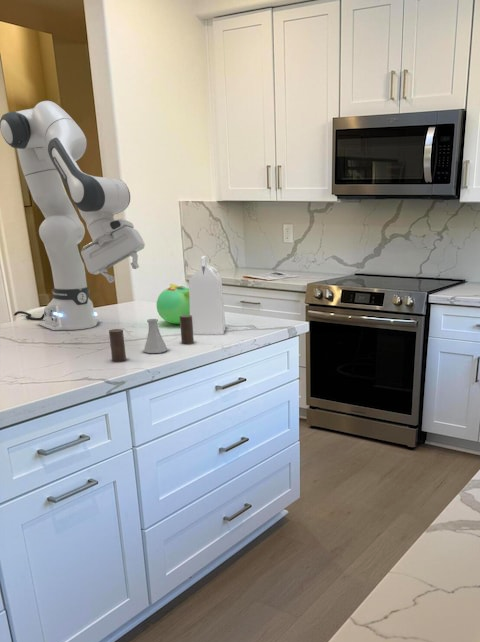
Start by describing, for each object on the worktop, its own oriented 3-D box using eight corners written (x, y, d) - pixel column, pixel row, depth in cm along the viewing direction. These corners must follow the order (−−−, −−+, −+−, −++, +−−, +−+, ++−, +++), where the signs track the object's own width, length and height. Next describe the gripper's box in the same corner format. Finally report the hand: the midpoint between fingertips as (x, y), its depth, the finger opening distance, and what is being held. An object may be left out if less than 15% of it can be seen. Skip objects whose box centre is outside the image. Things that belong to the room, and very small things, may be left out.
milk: (194, 327, 226) (189, 255, 217) (225, 327, 227) (221, 255, 218) (190, 334, 215) (184, 258, 206) (223, 334, 216) (219, 258, 206)
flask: (139, 353, 190) (136, 321, 186) (150, 347, 196) (147, 316, 193) (161, 354, 188) (158, 322, 185) (171, 349, 195) (168, 318, 191)
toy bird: (168, 318, 242) (165, 280, 236) (209, 319, 240) (207, 281, 234) (151, 327, 225) (147, 287, 220) (195, 329, 223) (192, 288, 218)
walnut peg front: (109, 360, 181) (105, 330, 178) (120, 357, 184) (116, 328, 181) (118, 362, 179) (114, 332, 176) (129, 359, 182) (125, 330, 179)
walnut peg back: (179, 343, 203) (177, 316, 199) (187, 340, 206) (186, 314, 202) (187, 344, 201) (185, 317, 197) (196, 342, 204) (194, 315, 200)
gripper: (73, 247, 189) (91, 288, 190) (125, 216, 184) (145, 259, 185) (85, 250, 195) (103, 290, 196) (136, 220, 190) (155, 261, 191)
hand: (123, 274), depth 190 cm, fingers open, 8 cm apart
